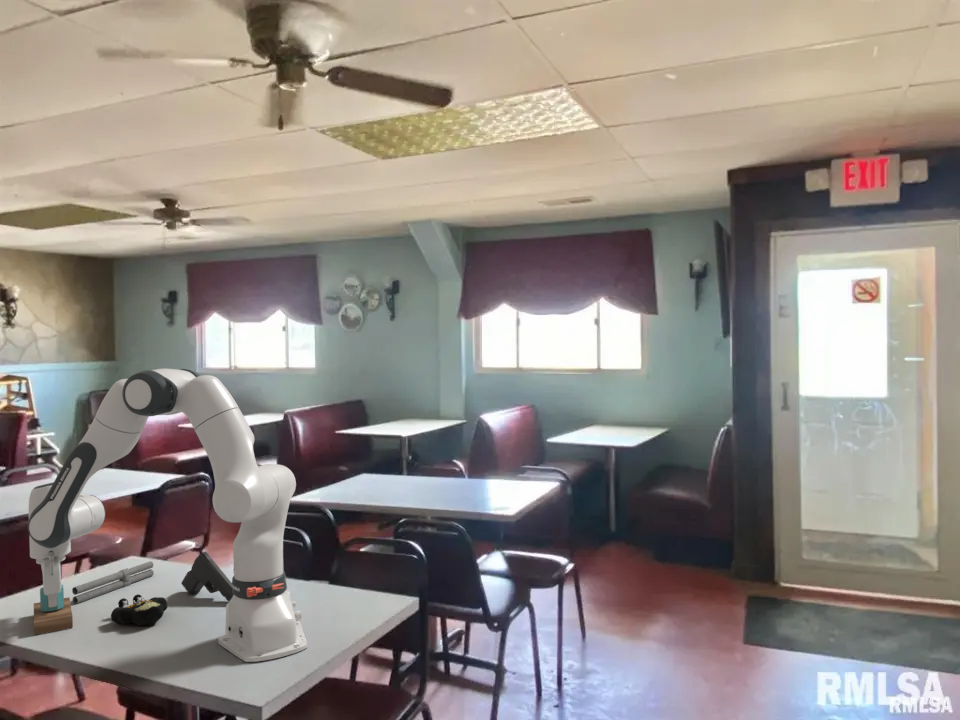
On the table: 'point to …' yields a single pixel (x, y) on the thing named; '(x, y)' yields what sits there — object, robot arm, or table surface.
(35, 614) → the stud block
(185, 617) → the table surface
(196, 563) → the pistol
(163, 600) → the toy
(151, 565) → the metal rod assembly
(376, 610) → the table surface
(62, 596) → the cap
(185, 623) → the table surface
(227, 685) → the table surface
